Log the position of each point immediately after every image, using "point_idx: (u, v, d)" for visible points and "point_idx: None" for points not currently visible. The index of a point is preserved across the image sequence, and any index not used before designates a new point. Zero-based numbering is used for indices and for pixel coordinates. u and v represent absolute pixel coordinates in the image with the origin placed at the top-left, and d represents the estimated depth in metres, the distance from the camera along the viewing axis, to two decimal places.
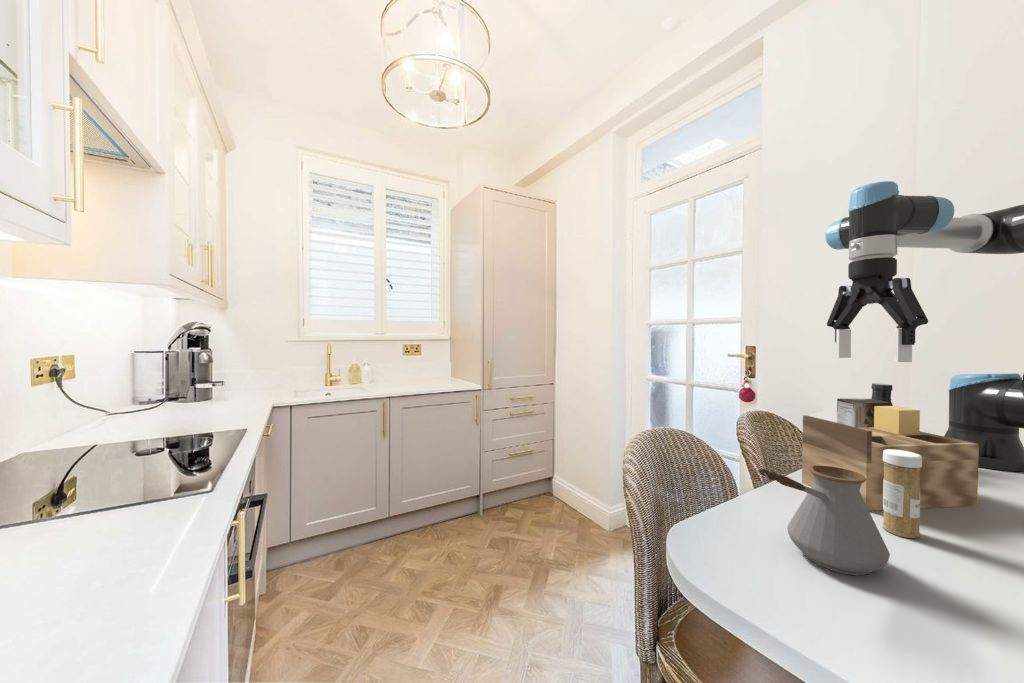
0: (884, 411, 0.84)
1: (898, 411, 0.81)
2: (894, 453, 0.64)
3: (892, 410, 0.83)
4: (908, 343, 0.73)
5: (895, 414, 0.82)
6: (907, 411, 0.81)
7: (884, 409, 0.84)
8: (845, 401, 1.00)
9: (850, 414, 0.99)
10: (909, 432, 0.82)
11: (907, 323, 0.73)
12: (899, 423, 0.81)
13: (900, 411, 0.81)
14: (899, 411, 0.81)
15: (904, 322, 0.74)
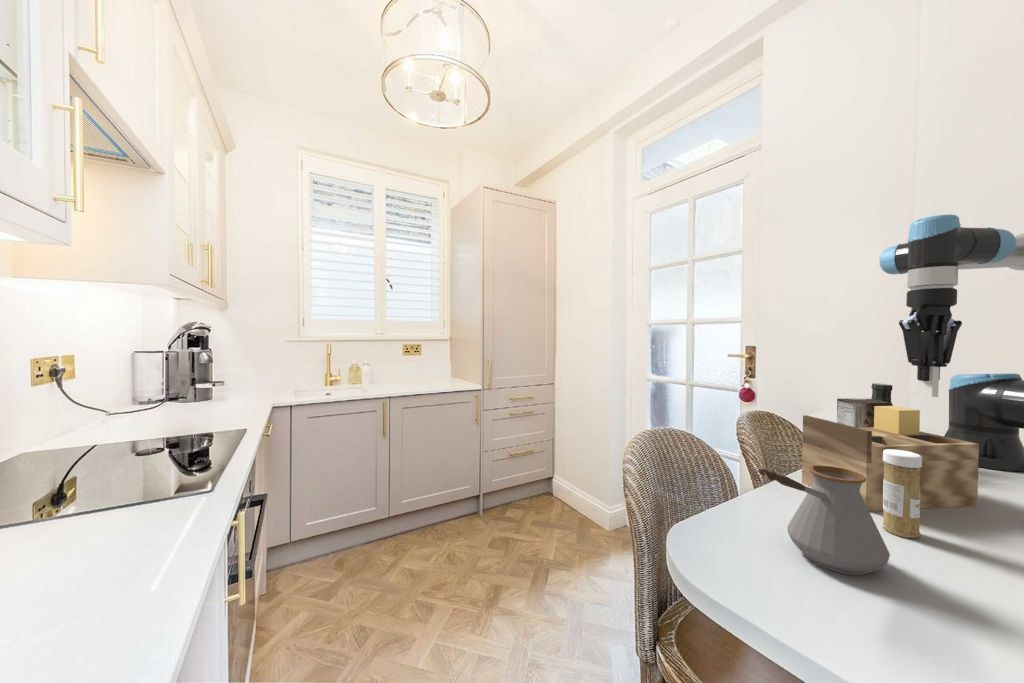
0: (884, 411, 0.84)
1: (898, 411, 0.81)
2: (894, 453, 0.64)
3: (892, 410, 0.83)
4: (918, 379, 0.85)
5: (895, 414, 0.82)
6: (907, 411, 0.81)
7: (884, 409, 0.84)
8: (845, 401, 1.00)
9: (850, 414, 0.99)
10: (909, 432, 0.82)
11: None
12: (899, 423, 0.81)
13: (900, 411, 0.81)
14: (899, 411, 0.81)
15: None
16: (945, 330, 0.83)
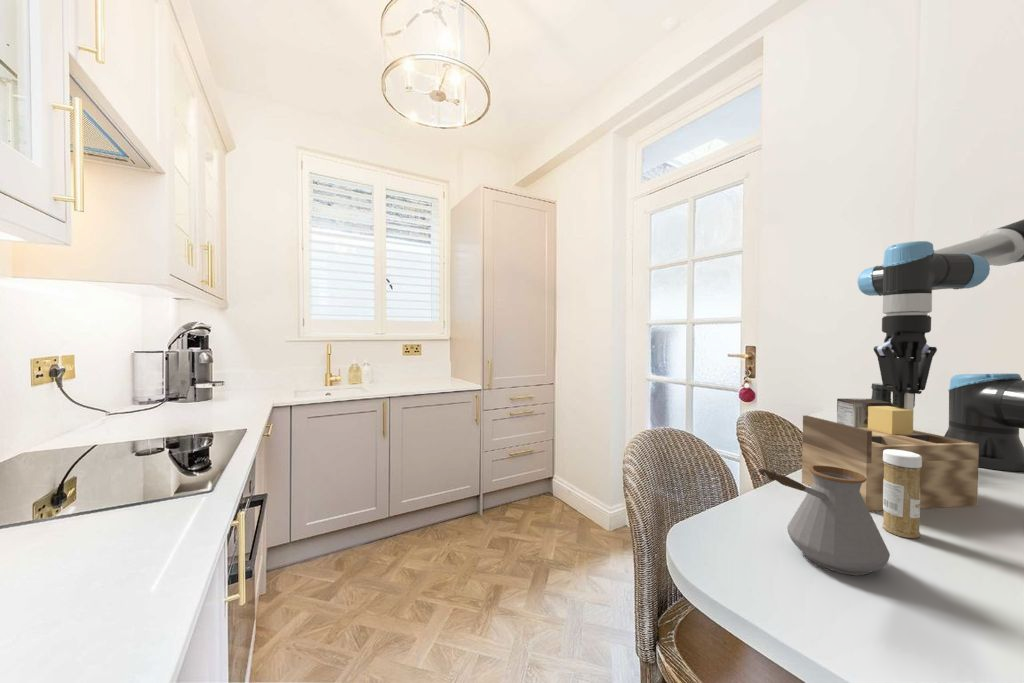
0: (878, 411, 0.84)
1: (892, 411, 0.81)
2: (894, 453, 0.64)
3: (885, 410, 0.82)
4: (894, 405, 0.84)
5: (888, 414, 0.82)
6: (900, 411, 0.81)
7: (878, 409, 0.84)
8: (845, 401, 1.00)
9: (850, 414, 0.99)
10: (902, 432, 0.81)
11: None
12: (893, 423, 0.81)
13: (893, 411, 0.81)
14: (892, 411, 0.81)
15: None
16: (920, 357, 0.82)
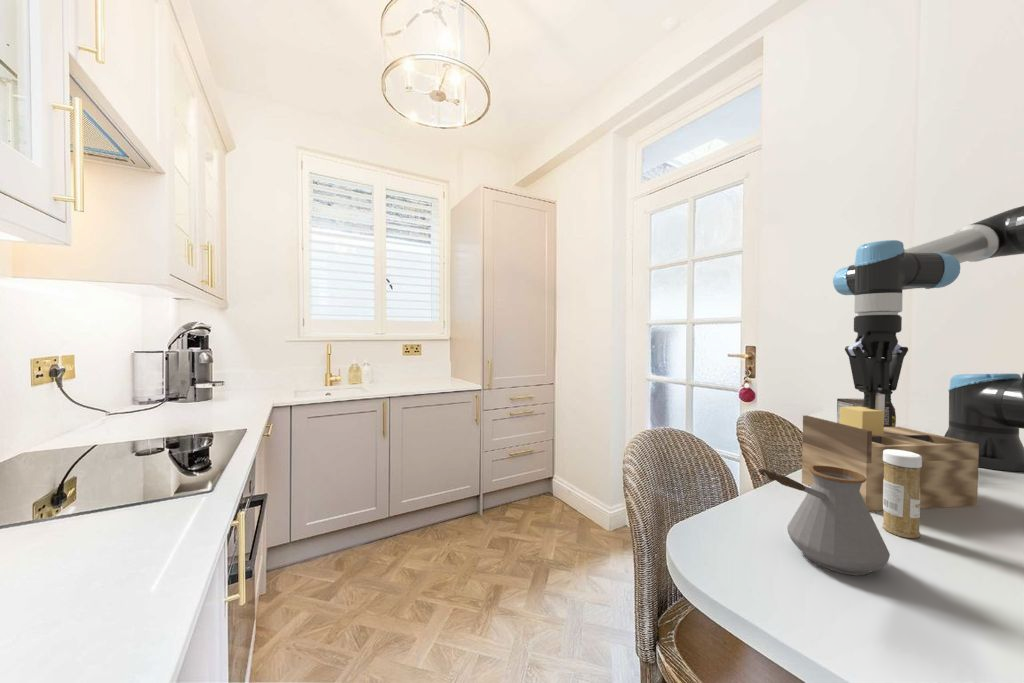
0: (849, 412, 0.83)
1: (862, 411, 0.80)
2: (894, 453, 0.64)
3: (856, 411, 0.82)
4: (865, 406, 0.84)
5: (859, 415, 0.81)
6: (871, 412, 0.81)
7: (849, 410, 0.83)
8: (845, 401, 1.00)
9: None
10: (873, 433, 0.81)
11: None
12: (863, 424, 0.80)
13: (864, 412, 0.80)
14: (863, 412, 0.80)
15: None
16: (890, 357, 0.82)
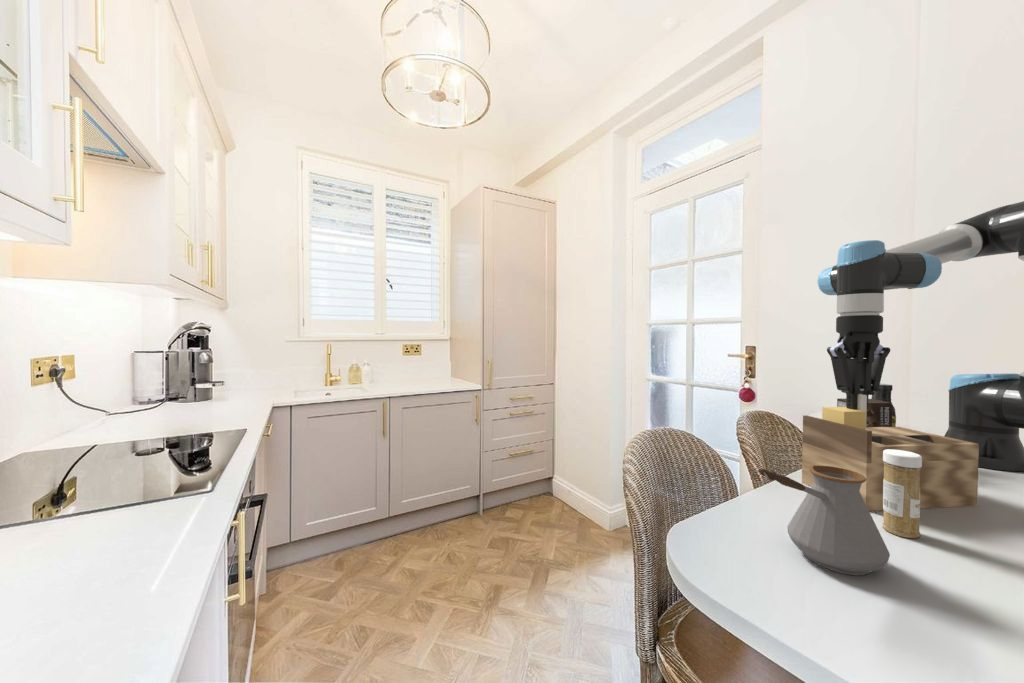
0: (831, 412, 0.83)
1: (843, 412, 0.80)
2: (894, 453, 0.64)
3: (838, 411, 0.81)
4: (847, 407, 0.83)
5: (841, 415, 0.81)
6: (853, 412, 0.80)
7: (831, 410, 0.83)
8: (845, 401, 1.00)
9: None
10: None
11: None
12: (844, 424, 0.80)
13: (845, 412, 0.80)
14: (844, 412, 0.80)
15: None
16: (872, 357, 0.81)
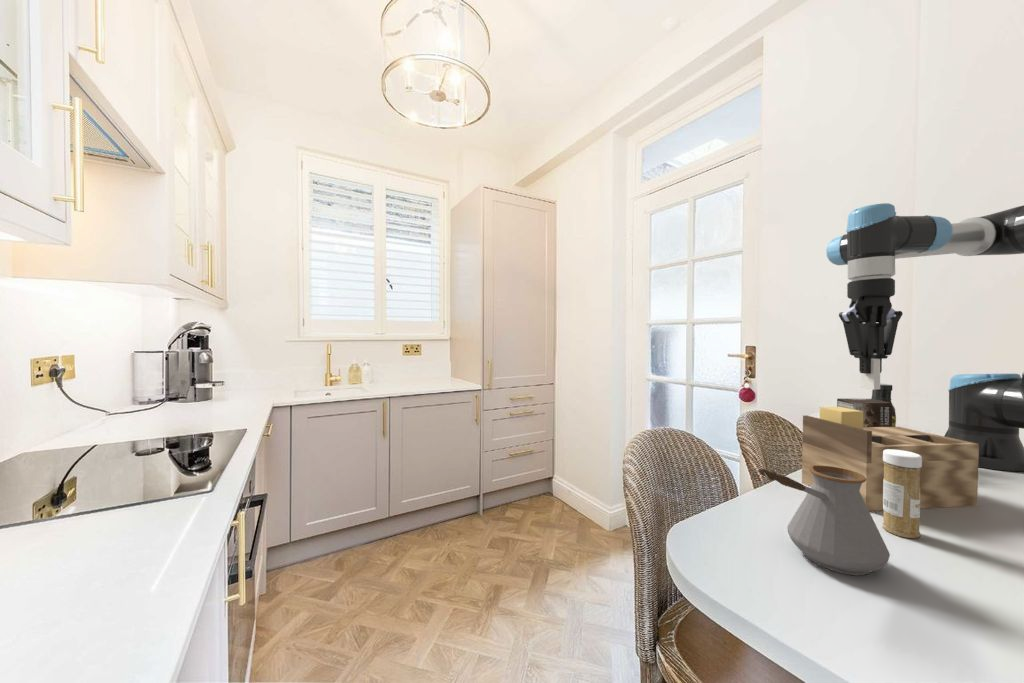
0: (828, 412, 0.83)
1: (841, 412, 0.80)
2: (894, 453, 0.64)
3: (835, 411, 0.81)
4: (861, 371, 0.83)
5: (838, 415, 0.81)
6: (850, 412, 0.80)
7: (828, 410, 0.83)
8: (845, 401, 1.00)
9: None
10: None
11: None
12: None
13: (843, 412, 0.80)
14: (842, 412, 0.80)
15: None
16: (885, 321, 0.81)
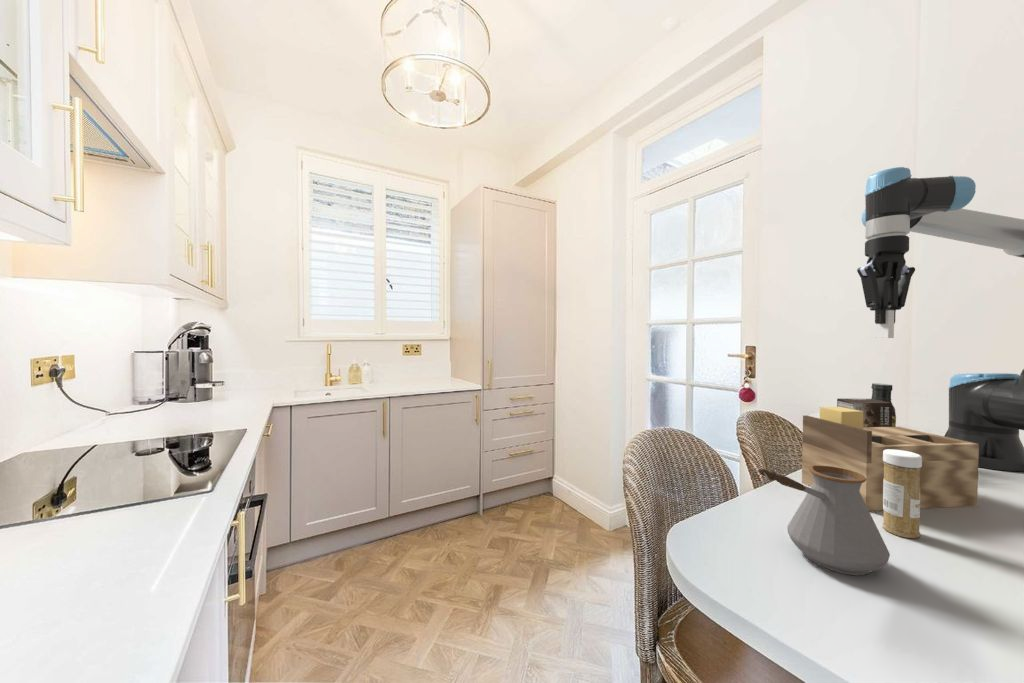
0: (828, 412, 0.83)
1: (841, 412, 0.80)
2: (894, 453, 0.64)
3: (835, 411, 0.81)
4: (876, 322, 0.91)
5: (838, 415, 0.81)
6: (850, 412, 0.80)
7: (828, 410, 0.83)
8: (845, 401, 1.00)
9: None
10: None
11: None
12: None
13: (843, 412, 0.80)
14: (842, 412, 0.80)
15: None
16: (899, 275, 0.89)
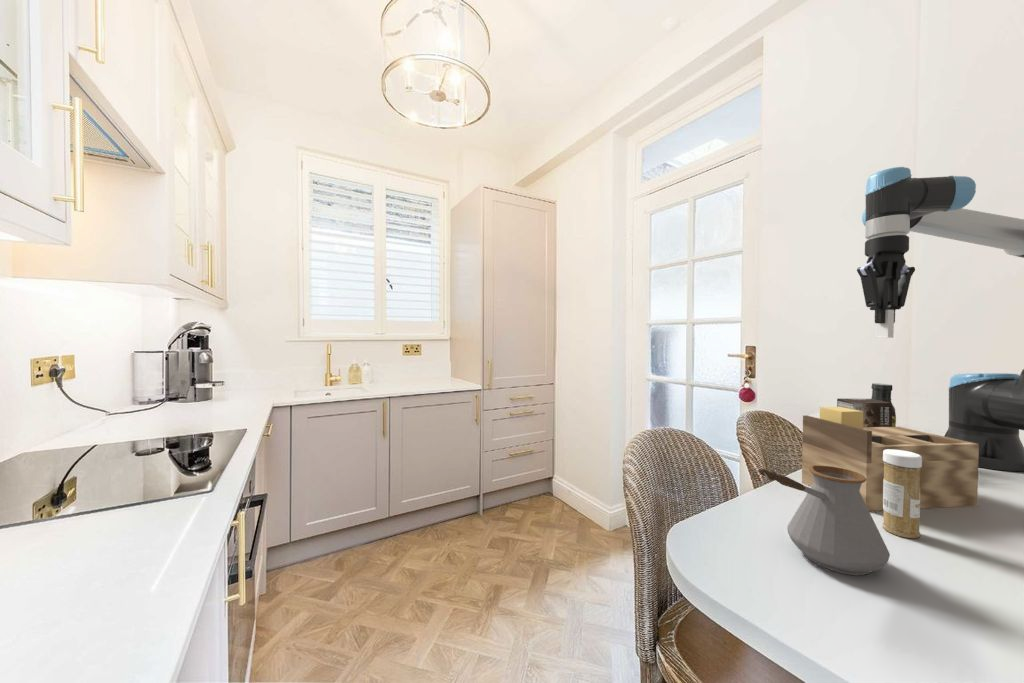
0: (828, 412, 0.83)
1: (841, 412, 0.80)
2: (894, 453, 0.64)
3: (835, 411, 0.81)
4: (876, 322, 0.91)
5: (838, 415, 0.81)
6: (850, 412, 0.80)
7: (828, 410, 0.83)
8: (845, 401, 1.00)
9: None
10: None
11: None
12: None
13: (843, 412, 0.80)
14: (842, 412, 0.80)
15: None
16: (899, 275, 0.89)
